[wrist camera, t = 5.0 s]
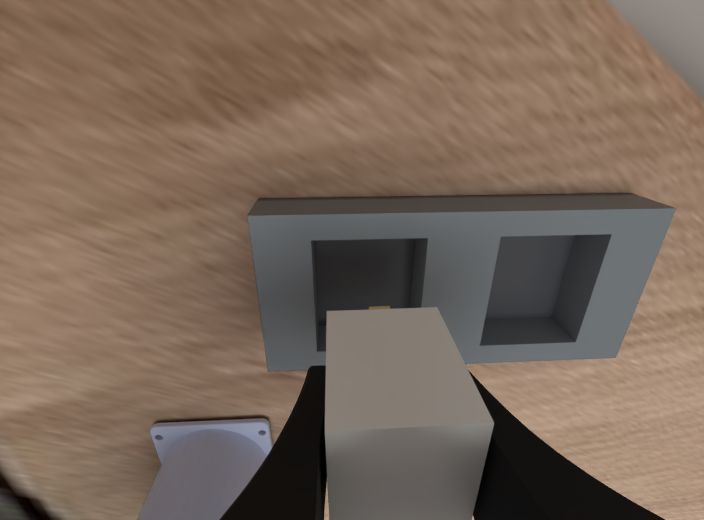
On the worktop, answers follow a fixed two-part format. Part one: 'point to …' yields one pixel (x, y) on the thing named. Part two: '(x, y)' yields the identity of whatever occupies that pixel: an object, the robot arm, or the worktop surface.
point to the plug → (400, 418)
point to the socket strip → (458, 269)
